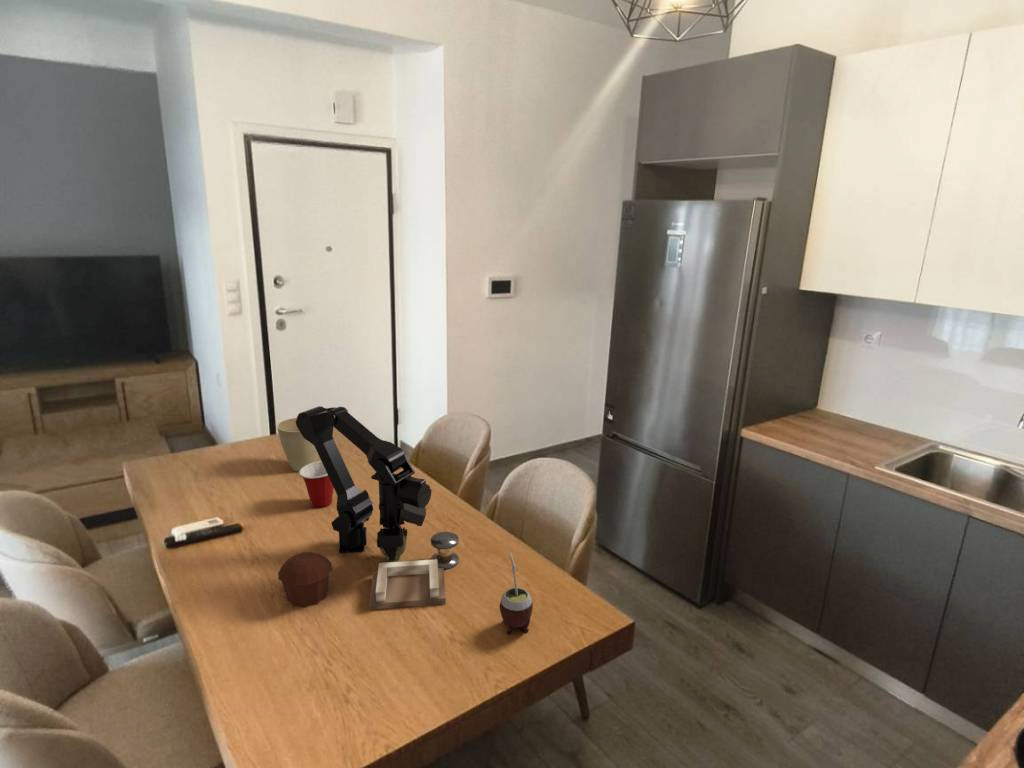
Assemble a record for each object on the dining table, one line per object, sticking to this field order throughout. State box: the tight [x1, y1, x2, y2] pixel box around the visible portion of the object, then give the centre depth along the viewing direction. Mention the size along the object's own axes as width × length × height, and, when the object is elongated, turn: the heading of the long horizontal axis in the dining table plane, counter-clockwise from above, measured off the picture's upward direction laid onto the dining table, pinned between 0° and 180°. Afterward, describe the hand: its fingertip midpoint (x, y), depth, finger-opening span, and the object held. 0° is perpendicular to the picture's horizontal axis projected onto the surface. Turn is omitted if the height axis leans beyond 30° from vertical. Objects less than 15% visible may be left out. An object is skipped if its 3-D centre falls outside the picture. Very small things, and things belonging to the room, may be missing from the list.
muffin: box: [277, 551, 333, 608], centre depth 134 cm, size 12×11×10 cm
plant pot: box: [276, 417, 319, 472], centre depth 200 cm, size 15×15×16 cm
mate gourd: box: [499, 551, 534, 636], centre depth 125 cm, size 8×8×15 cm
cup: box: [376, 525, 408, 563], centre depth 148 cm, size 8×7×8 cm
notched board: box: [368, 559, 447, 611], centre depth 137 cm, size 17×12×4 cm
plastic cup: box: [298, 460, 335, 509], centre depth 176 cm, size 11×11×12 cm
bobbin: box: [430, 531, 460, 570], centre depth 148 cm, size 7×7×6 cm
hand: (393, 552), depth 149 cm, fingers closed on cup, 6 cm apart
